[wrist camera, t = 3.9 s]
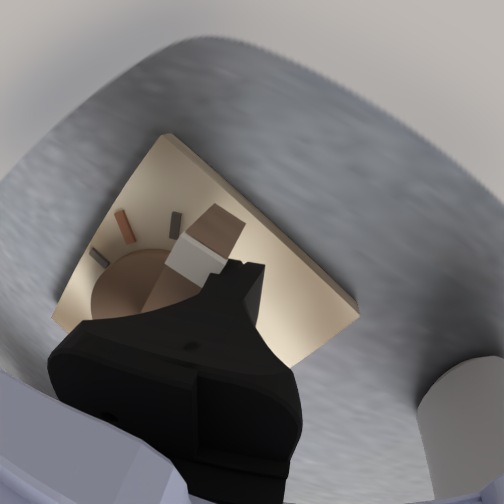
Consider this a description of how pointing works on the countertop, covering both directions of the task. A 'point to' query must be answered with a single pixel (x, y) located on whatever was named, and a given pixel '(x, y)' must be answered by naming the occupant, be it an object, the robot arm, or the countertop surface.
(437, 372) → the countertop surface
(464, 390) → the can
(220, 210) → the dial
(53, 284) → the countertop surface
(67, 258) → the countertop surface
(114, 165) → the countertop surface
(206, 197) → the dial plate
